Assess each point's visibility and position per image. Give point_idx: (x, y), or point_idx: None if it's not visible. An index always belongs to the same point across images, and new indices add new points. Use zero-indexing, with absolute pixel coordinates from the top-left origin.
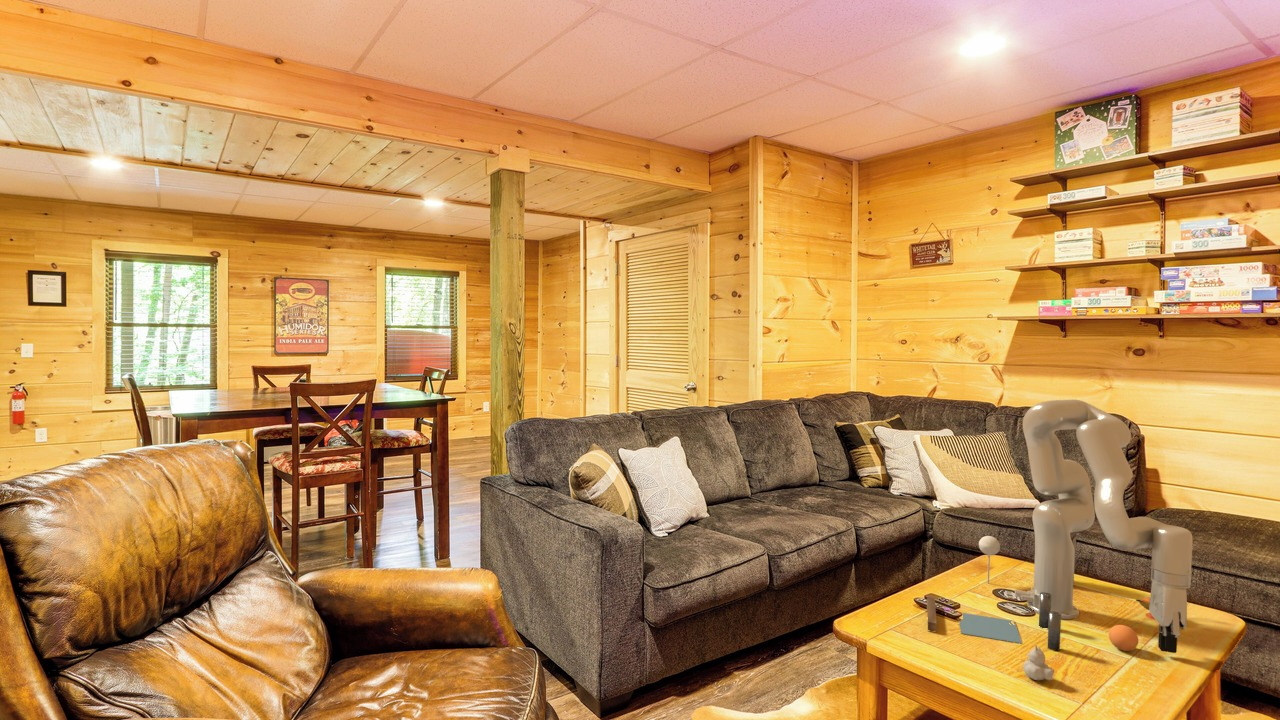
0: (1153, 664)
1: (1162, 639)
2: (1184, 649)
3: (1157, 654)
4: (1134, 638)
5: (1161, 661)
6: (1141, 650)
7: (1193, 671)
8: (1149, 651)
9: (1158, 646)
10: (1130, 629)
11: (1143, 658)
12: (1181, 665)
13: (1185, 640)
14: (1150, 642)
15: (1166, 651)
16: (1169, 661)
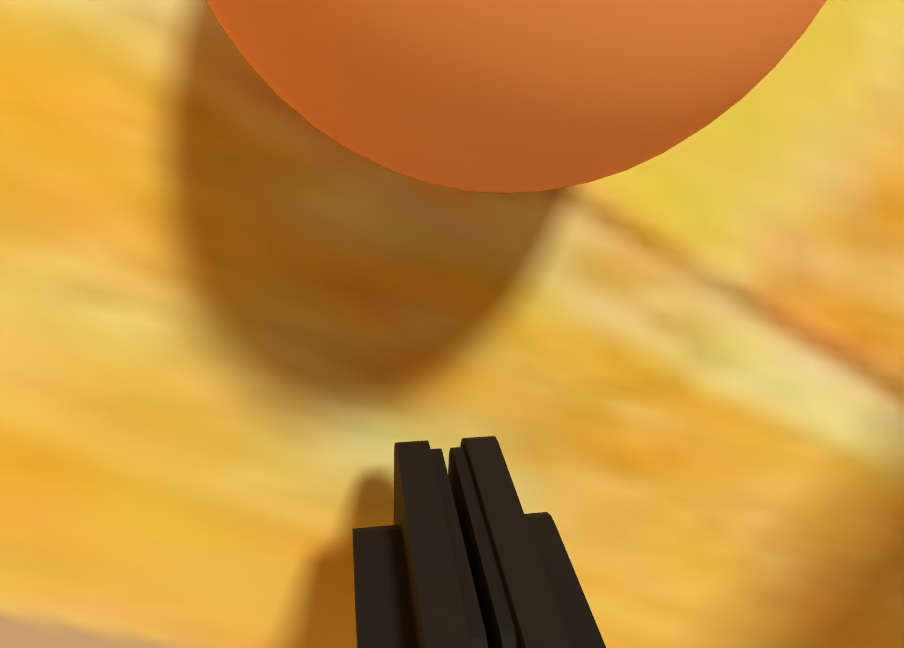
0: (32, 235)
1: (415, 598)
2: (681, 611)
3: (457, 367)
4: (248, 55)
5: (231, 363)
6: (522, 202)
7: (114, 604)
8: (522, 298)
9: (486, 444)
10: (476, 2)
11: (206, 147)
12: (228, 534)
13: (874, 640)
14: (802, 372)
15: (395, 495)
16: (286, 447)
